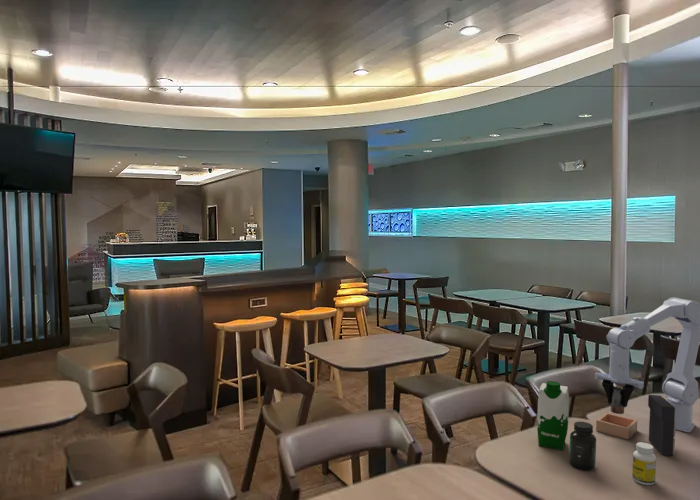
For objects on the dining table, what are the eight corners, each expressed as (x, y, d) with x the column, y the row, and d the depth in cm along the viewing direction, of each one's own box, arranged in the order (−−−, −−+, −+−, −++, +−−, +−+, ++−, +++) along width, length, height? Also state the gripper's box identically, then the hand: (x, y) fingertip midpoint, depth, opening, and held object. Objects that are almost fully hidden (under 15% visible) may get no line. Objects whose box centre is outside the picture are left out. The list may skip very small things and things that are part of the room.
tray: (605, 422, 178) (606, 412, 178) (637, 430, 171) (637, 420, 171) (596, 430, 171) (596, 420, 171) (628, 439, 164) (628, 428, 164)
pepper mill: (612, 408, 174) (613, 383, 173) (625, 411, 171) (626, 386, 170) (608, 411, 171) (609, 386, 170) (621, 414, 168) (622, 389, 167)
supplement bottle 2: (627, 476, 140) (629, 441, 140) (646, 475, 141) (647, 440, 140) (640, 486, 135) (642, 450, 134) (659, 485, 135) (661, 449, 135)
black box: (675, 456, 152) (678, 407, 151) (659, 455, 153) (662, 406, 152) (661, 441, 163) (663, 395, 162) (646, 440, 164) (648, 394, 163)
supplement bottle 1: (564, 464, 147) (565, 423, 146) (576, 457, 151) (578, 418, 150) (587, 473, 141) (589, 431, 141) (599, 466, 145) (601, 425, 145)
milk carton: (535, 446, 158) (537, 383, 157) (539, 435, 166) (541, 375, 165) (565, 452, 154) (567, 387, 153) (568, 441, 162) (570, 379, 161)
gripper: (592, 362, 172) (590, 402, 173) (639, 371, 162) (638, 413, 163) (599, 358, 177) (597, 397, 178) (646, 367, 167) (644, 407, 168)
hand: (617, 404), depth 171 cm, fingers closed on pepper mill, 4 cm apart
